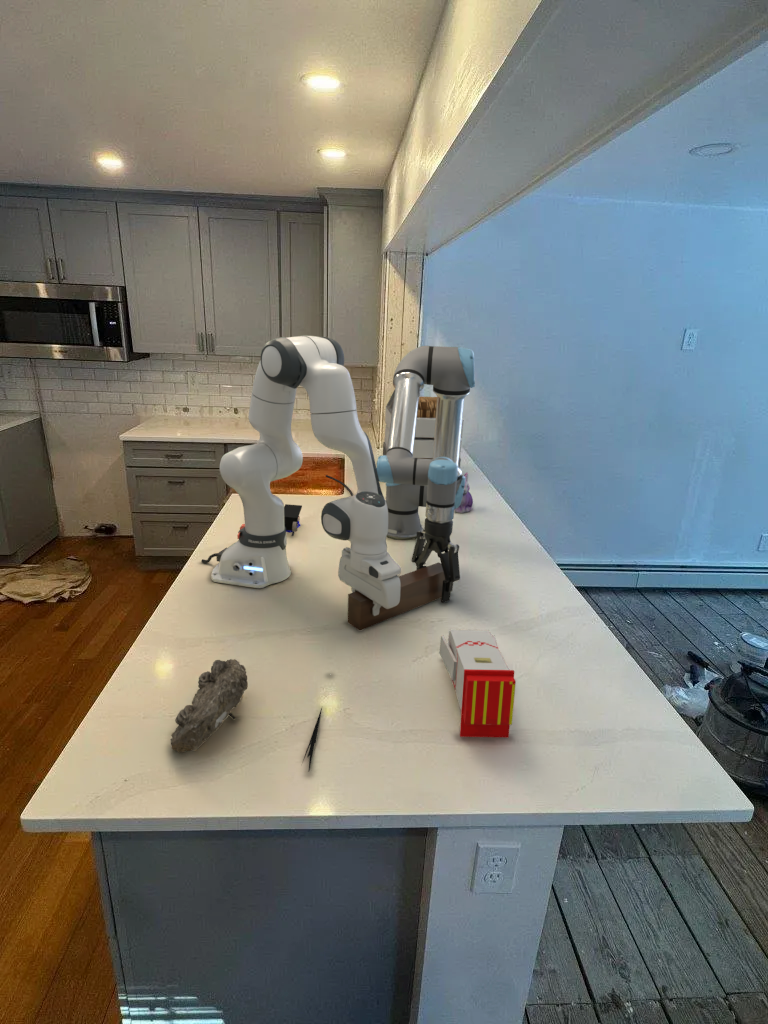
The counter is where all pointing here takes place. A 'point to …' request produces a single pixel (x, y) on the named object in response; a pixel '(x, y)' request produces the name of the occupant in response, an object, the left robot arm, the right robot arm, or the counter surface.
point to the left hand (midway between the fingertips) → (366, 609)
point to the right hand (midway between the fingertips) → (432, 594)
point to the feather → (313, 740)
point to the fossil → (210, 704)
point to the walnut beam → (413, 594)
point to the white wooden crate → (419, 428)
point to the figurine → (465, 498)
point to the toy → (479, 682)
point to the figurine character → (291, 517)
